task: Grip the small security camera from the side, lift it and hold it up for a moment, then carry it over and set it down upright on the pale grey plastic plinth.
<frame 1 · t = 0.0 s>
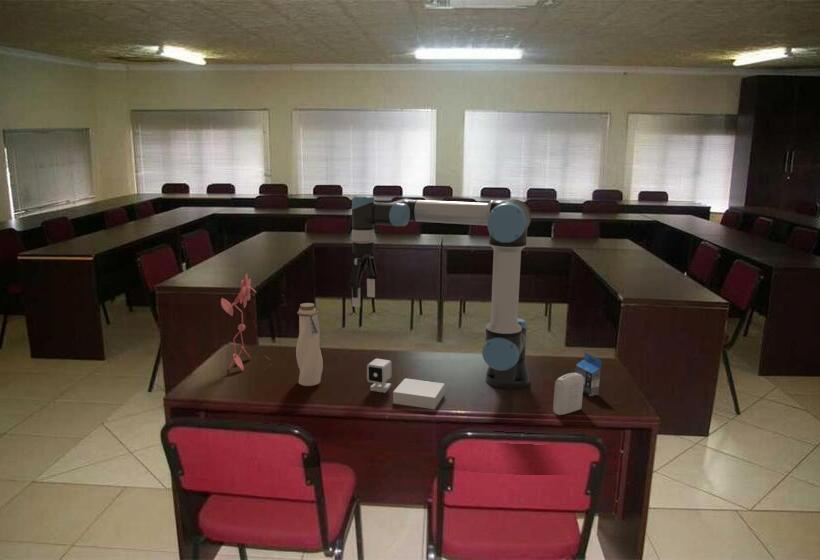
hand: (363, 301, 214), 28 cm above the table, tool pointing down, fingers open, 13 cm apart
plinth: (419, 398, 202), on the table
water bottle: (311, 382, 215), on the table
photo printer: (567, 411, 195), on the table
security camera: (379, 390, 209), on the table
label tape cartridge: (585, 391, 210), on the table
figurine: (250, 365, 230), on the table
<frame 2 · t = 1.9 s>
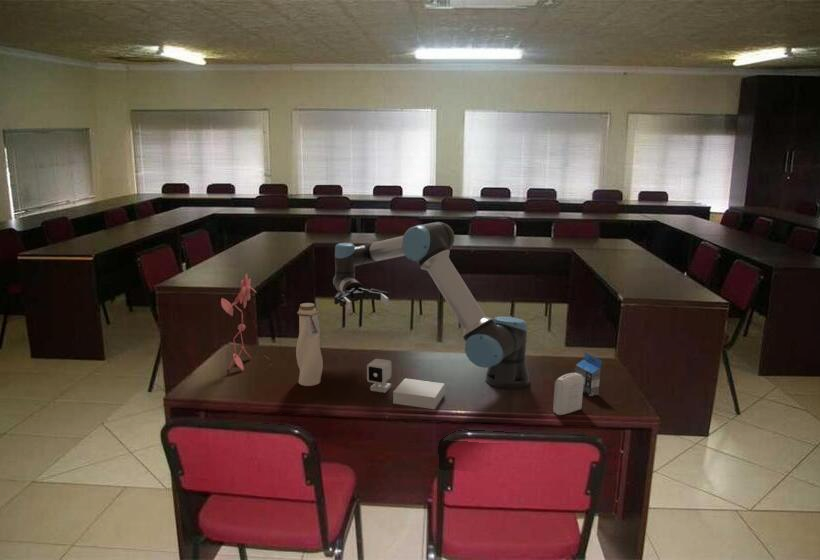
hand: (368, 303, 211), 28 cm above the table, tool horizontal, fingers open, 13 cm apart
nothing on the table moved.
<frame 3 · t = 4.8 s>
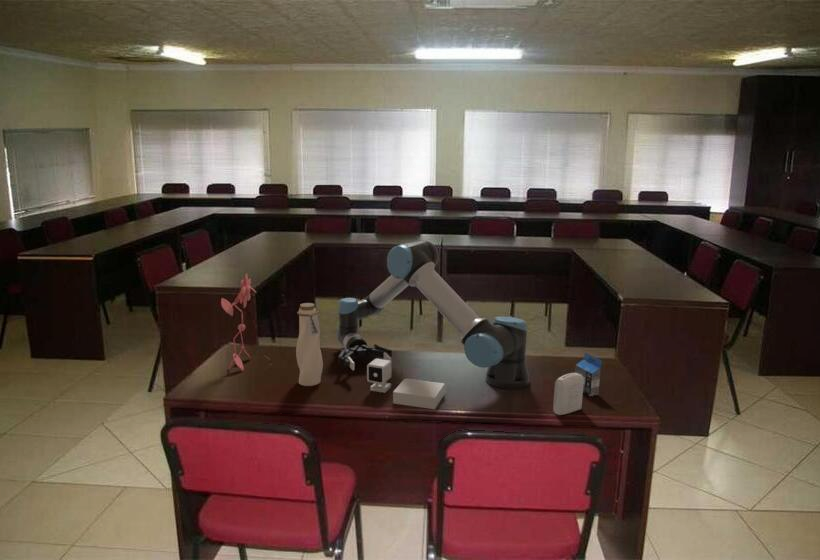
hand: (372, 364, 216), 6 cm above the table, tool horizontal, fingers open, 13 cm apart
nothing on the table moved.
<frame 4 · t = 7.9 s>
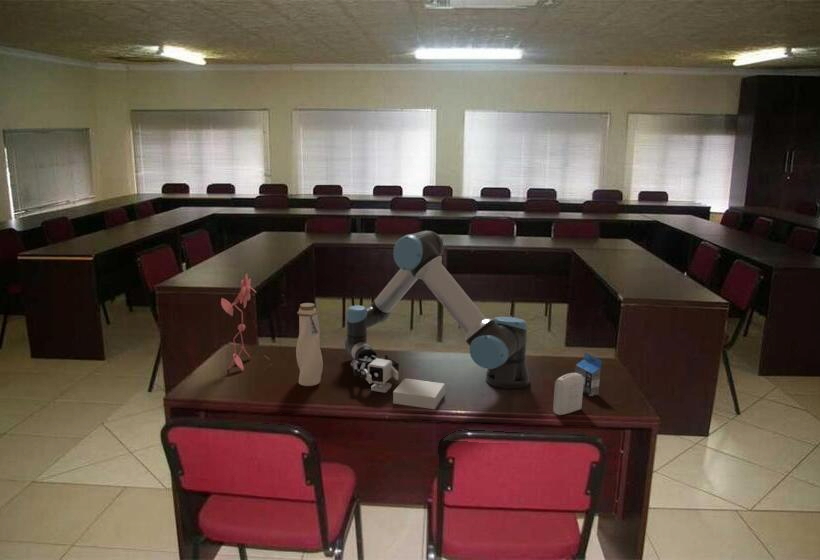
hand: (384, 377, 204), 6 cm above the table, tool horizontal, fingers closed on security camera, 9 cm apart
security camera: (380, 389, 209), on the table, touching gripper
everything else where it was.
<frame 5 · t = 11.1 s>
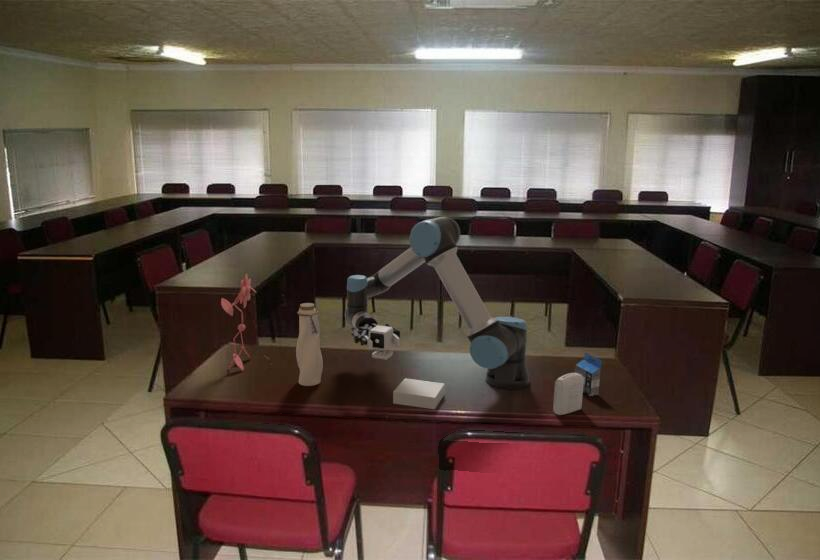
hand: (385, 344, 201), 18 cm above the table, tool horizontal, fingers closed on security camera, 9 cm apart
security camera: (381, 357, 206), point 12 cm above the table, touching gripper
everything else where it was.
when the fingers open (11 cm above the table, at t = 14.3 s): security camera drops 1 cm, resting on plinth.
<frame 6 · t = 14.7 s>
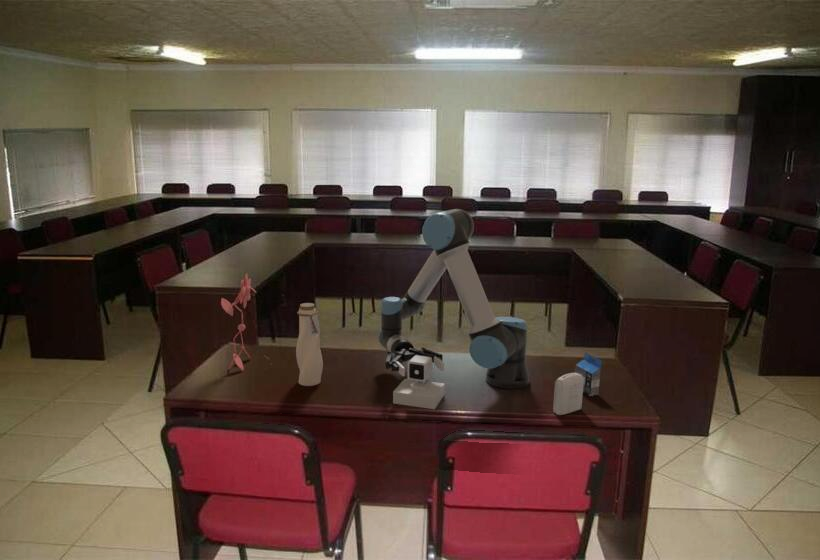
hand: (423, 369, 196), 11 cm above the table, tool horizontal, fingers open, 13 cm apart
security camera: (420, 388, 201), point 4 cm above the table, touching plinth
everything else where it was.
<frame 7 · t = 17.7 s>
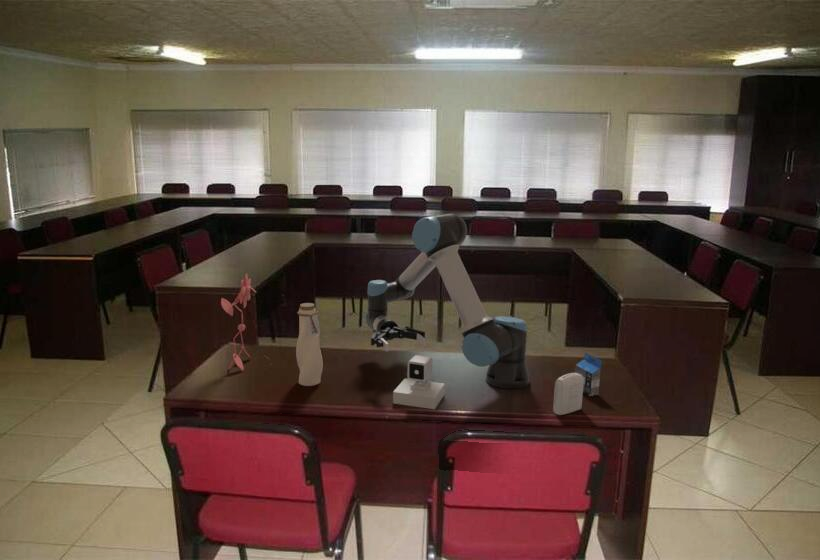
hand: (406, 345, 209), 15 cm above the table, tool horizontal, fingers open, 13 cm apart
nothing on the table moved.
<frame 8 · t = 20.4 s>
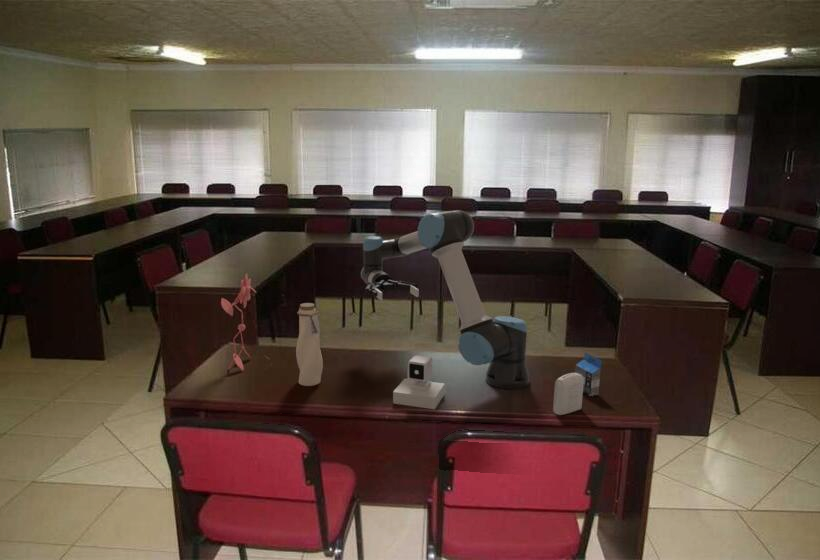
hand: (399, 294, 215), 30 cm above the table, tool horizontal, fingers open, 13 cm apart
nothing on the table moved.
at the end: security camera inside the target area on the plinth (0.3 cm from its centre), point 3.8 cm above the plinth's base; security camera tilted 0°; the gripper is holding nothing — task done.
